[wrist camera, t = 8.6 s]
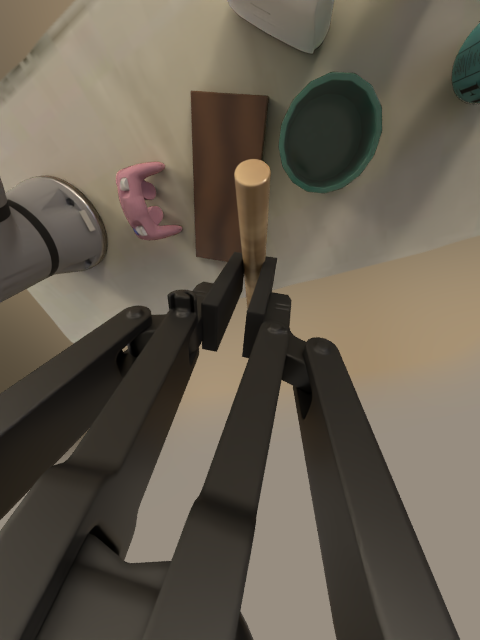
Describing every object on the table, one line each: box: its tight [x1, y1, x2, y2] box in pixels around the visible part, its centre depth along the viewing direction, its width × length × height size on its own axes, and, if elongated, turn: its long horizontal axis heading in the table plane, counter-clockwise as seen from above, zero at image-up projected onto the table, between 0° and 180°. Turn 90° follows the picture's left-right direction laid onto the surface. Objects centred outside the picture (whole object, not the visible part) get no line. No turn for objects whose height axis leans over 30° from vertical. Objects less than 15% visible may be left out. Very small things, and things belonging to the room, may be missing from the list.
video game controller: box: [116, 162, 182, 240], centre depth 35 cm, size 10×5×7 cm, turn 9°
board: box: [191, 91, 269, 262], centre depth 34 cm, size 9×20×1 cm, turn 175°
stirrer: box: [234, 159, 271, 308], centre depth 18 cm, size 1×13×13 cm
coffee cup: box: [279, 72, 382, 193], centre depth 26 cm, size 9×9×8 cm
